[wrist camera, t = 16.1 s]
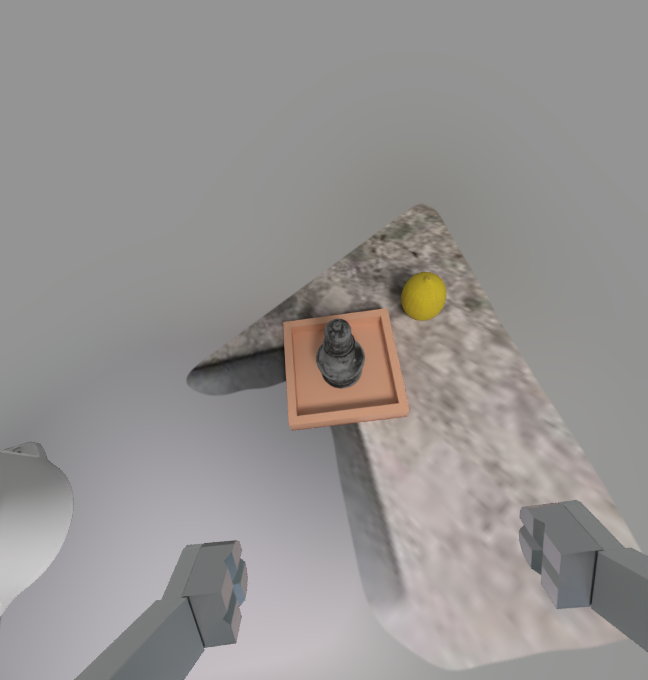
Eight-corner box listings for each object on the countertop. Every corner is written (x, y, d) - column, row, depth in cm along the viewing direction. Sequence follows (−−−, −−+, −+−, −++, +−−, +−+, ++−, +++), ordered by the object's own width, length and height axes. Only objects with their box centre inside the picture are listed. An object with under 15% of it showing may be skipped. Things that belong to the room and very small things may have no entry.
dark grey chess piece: (309, 367, 46) (295, 320, 36) (343, 340, 48) (339, 287, 37) (339, 400, 44) (333, 360, 33) (374, 371, 45) (379, 323, 35)
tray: (292, 430, 44) (288, 425, 41) (286, 331, 50) (283, 322, 48) (406, 416, 43) (409, 410, 41) (385, 317, 50) (387, 308, 47)
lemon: (390, 307, 50) (396, 272, 43) (423, 290, 51) (433, 253, 44) (413, 337, 48) (423, 305, 41) (447, 319, 49) (462, 284, 42)
